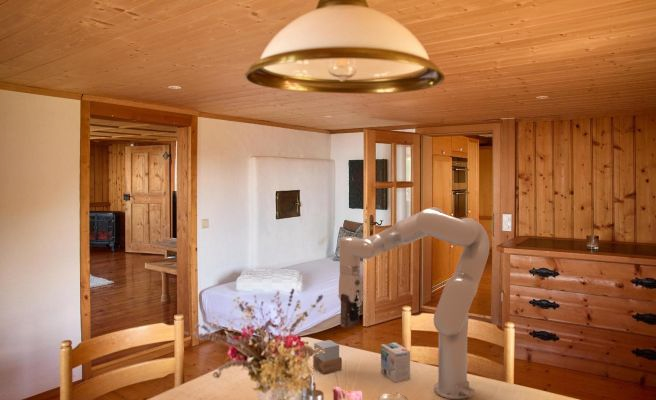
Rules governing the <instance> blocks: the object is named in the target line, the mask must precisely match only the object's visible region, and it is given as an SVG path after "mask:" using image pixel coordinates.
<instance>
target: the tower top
mask: <svg viewBox="0 0 656 400" xmlns="http://www.w3.org/2000/svg"><path fill="white" fill-rule="evenodd" d="M316 348H324V349H325V353H319V354H315V355H314V354H313V356H315V357H317V358H319V359H320V360H322V361H328V360H332V359H337V358H339V357H340V344H338V343H336V342H334V340H331V339H327V340H323V341H318V342H314V344H313V349H316Z"/></svg>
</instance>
